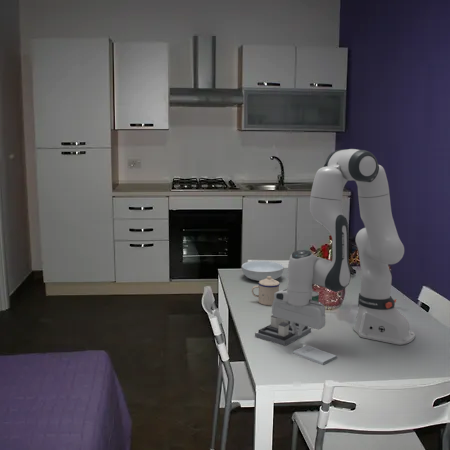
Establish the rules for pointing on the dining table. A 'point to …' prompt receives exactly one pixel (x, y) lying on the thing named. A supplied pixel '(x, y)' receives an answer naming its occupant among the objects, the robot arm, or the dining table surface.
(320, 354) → the external hard drive
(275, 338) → the panel
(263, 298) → the teacup with lid
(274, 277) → the serving bowl
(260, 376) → the dining table surface
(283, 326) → the block
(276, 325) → the block
